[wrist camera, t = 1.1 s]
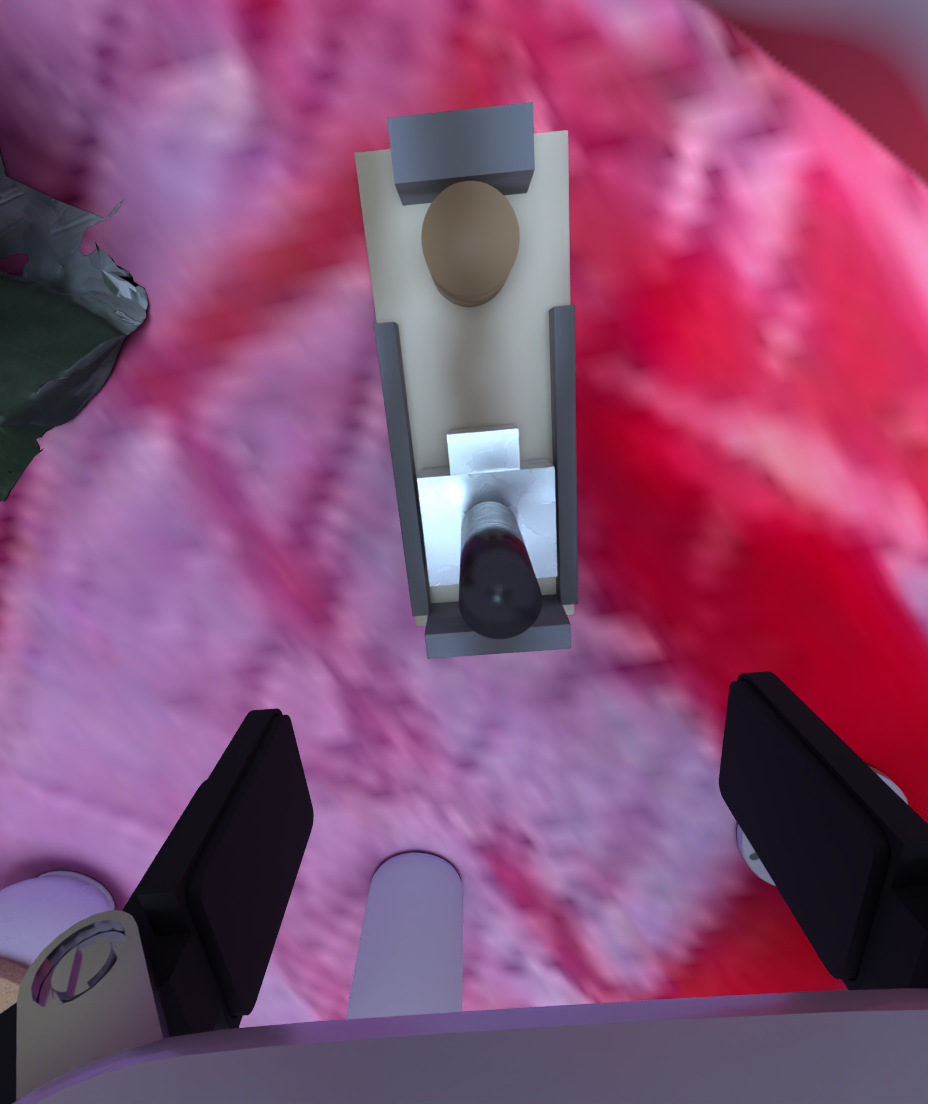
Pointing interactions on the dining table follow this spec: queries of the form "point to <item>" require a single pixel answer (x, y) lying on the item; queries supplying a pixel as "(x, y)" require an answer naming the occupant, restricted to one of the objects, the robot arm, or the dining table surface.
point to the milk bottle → (410, 941)
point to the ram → (490, 528)
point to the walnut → (470, 242)
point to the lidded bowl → (41, 920)
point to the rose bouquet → (54, 320)
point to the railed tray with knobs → (475, 339)
